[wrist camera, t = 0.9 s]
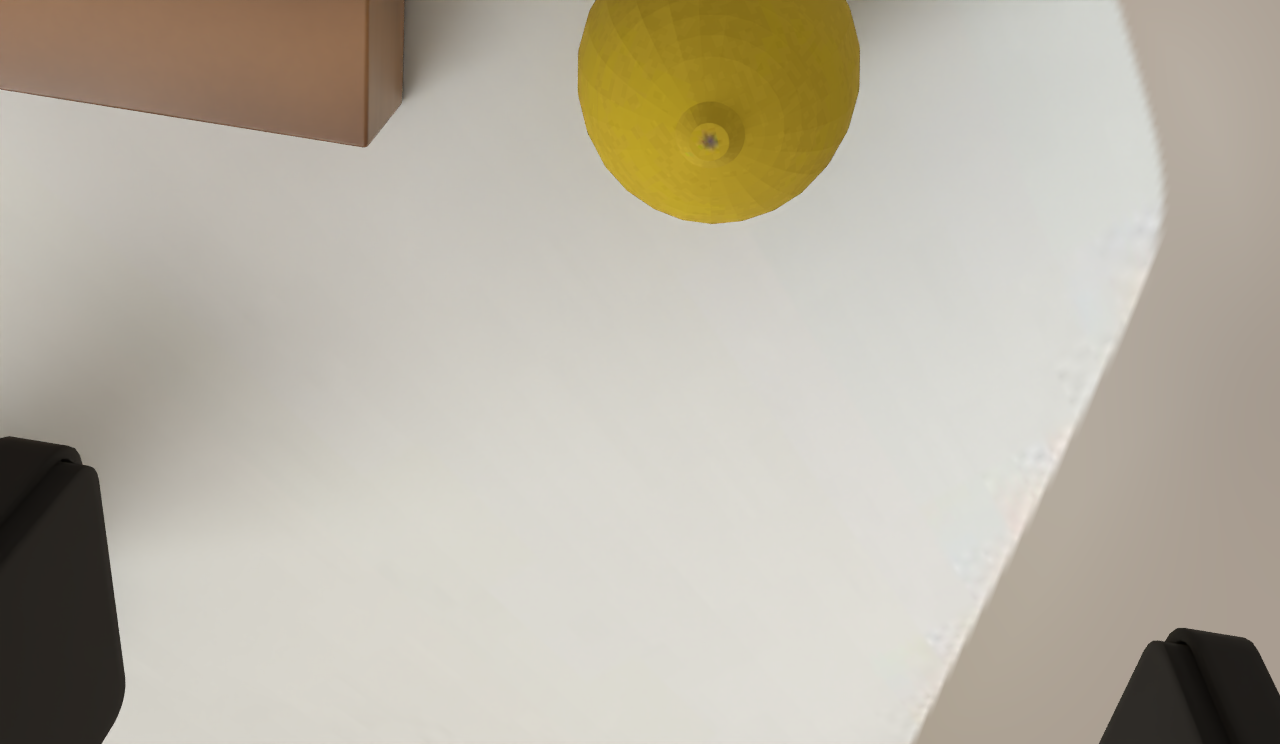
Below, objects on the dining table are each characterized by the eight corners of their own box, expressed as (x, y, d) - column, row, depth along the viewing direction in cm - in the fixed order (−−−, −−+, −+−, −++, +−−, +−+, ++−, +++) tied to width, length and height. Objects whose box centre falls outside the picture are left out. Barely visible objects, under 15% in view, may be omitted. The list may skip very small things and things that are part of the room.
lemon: (895, 43, 27) (936, 180, 20) (696, 176, 29) (673, 339, 22) (756, -171, 25) (751, -99, 18) (553, -12, 27) (481, 105, 20)
